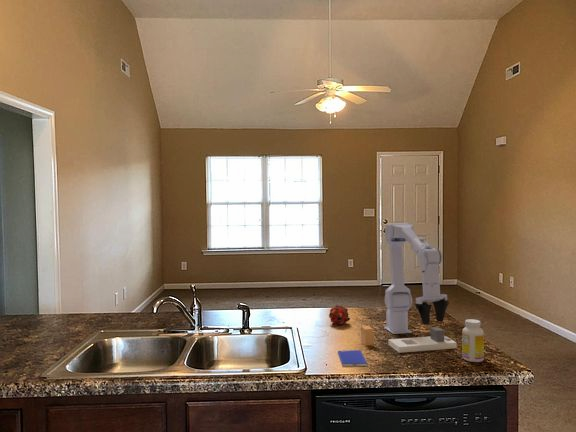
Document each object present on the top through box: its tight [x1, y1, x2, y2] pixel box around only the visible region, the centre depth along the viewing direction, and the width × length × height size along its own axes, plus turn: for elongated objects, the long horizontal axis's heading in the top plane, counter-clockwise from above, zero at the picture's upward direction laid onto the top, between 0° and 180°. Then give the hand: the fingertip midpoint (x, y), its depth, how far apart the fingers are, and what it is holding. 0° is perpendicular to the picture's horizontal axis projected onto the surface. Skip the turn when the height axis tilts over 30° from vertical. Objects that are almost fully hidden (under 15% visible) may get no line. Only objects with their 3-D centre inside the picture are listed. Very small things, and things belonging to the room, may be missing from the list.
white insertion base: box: [388, 326, 458, 354], centre depth 164 cm, size 9×22×6 cm, turn 101°
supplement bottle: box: [461, 318, 485, 363], centre depth 150 cm, size 7×7×13 cm
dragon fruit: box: [328, 304, 351, 327], centre depth 196 cm, size 8×8×12 cm
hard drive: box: [337, 349, 368, 367], centre depth 152 cm, size 2×8×12 cm
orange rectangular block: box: [360, 325, 374, 346], centre depth 169 cm, size 4×3×6 cm, turn 11°
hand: (433, 323), depth 157 cm, fingers open, 7 cm apart
